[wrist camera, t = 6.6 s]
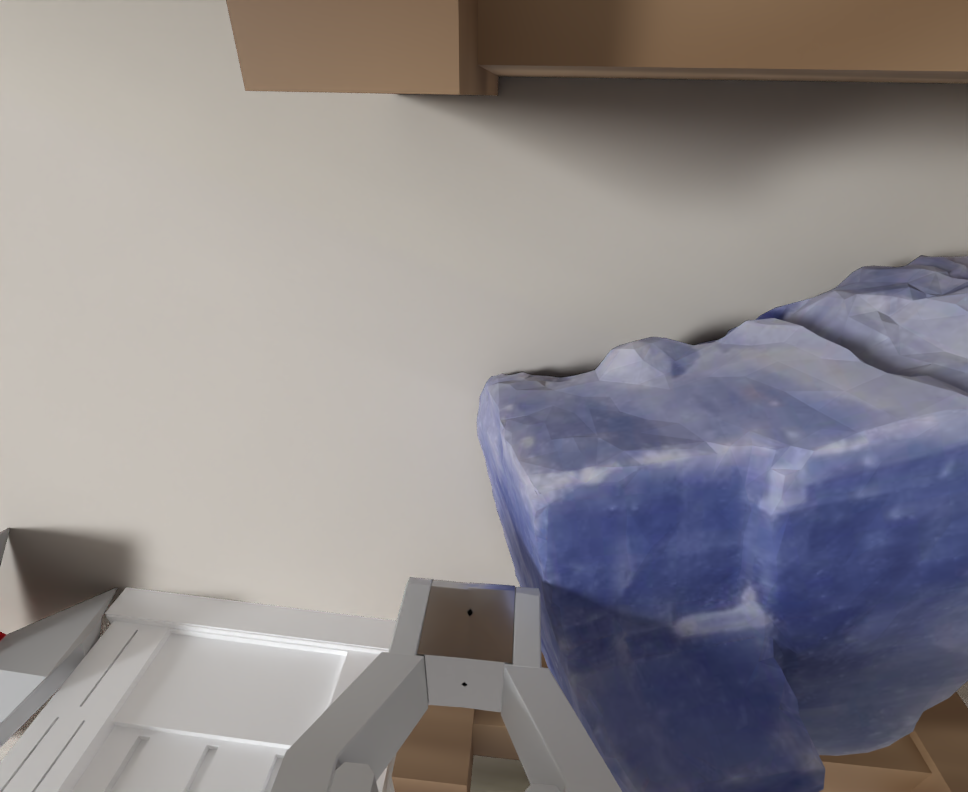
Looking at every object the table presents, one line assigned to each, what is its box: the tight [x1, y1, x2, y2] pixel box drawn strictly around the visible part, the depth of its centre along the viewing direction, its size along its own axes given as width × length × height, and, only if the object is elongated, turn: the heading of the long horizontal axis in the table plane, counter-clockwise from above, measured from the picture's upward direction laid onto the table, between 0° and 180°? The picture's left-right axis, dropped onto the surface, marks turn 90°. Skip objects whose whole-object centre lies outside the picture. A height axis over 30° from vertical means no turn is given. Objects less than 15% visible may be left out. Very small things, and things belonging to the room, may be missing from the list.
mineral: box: [477, 255, 968, 792], centre depth 11 cm, size 14×10×10 cm
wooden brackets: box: [226, 0, 968, 792], centre depth 12 cm, size 25×20×6 cm
